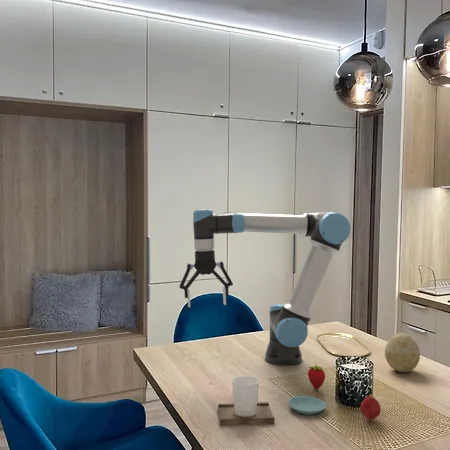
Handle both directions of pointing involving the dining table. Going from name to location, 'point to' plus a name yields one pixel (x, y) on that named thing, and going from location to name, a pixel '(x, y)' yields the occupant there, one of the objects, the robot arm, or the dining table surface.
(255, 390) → the white cup
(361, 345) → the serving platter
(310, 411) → the saucer
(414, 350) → the fossilized egg
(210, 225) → the robot arm
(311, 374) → the strawberry
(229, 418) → the walnut board
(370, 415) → the red rounded fruit
